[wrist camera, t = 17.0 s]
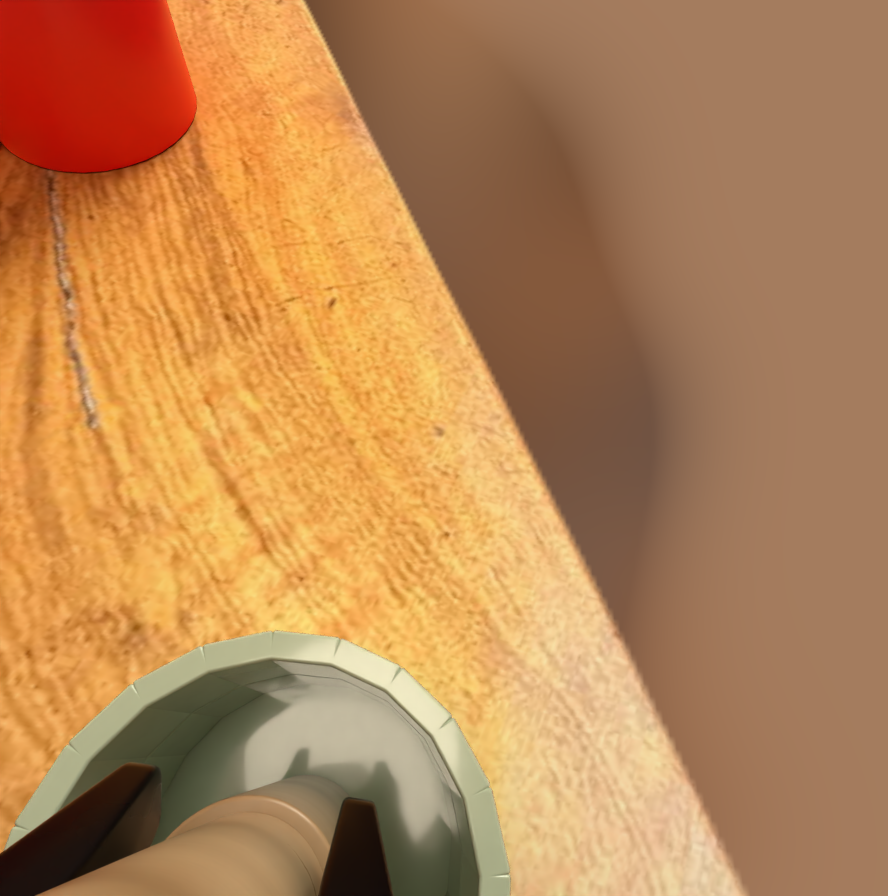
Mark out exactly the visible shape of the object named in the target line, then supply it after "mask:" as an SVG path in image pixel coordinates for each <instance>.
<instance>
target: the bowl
mask: <svg viewBox="0 0 888 896" xmlns="http://www.w3.org/2000/svg"><path fill="white" fill-rule="evenodd" d="M129 762H138V763H144V764H151V765H156V766H158V767H159V768H160V770H161V775H162V790H161V818H160V822H159V826H158V829H157V832H156V835H155V837H154V839H153V842H152V844H151V846H153V845H156V844H158V843H160V842H163V841H165V839H166V838H167V837H168V836H169V835H170V834H171V833H172V832H173V831H174V830H175V829H176V828H177V827H178V826H179V825H180V824H181V823H182V822H183V821H185V820H186V819H188V818H189V817H190V816H192V815H193V814H194V813H196V812H197V811H199V810H201V809H203V808H205V807H206V806H208V805H210V804H213V803H215V802H218V801H220V800H222V799H225V798H229V797H232V796H235V795H238V794H241V793H244V792H247V791H250V790H253V789H256V788H259V787H262V786H265V785H268V784H271V783H274V782H277V781H280V780H283V779H286V778H290V777H293V776H298V775H316V776H321V777H324V778H327V779H329V780H331V781H333V782H335V783H336V784H337V785H339V786H340V787H342V788H343V789H344V790H345V791H346V792H347V794H348V795H349V796H350V797H354V798H360V799H366V800H371V801H373V802H374V804H375V806H376V809H377V814H378V819H379V824H380V829H381V834H382V839H383V844H384V849H385V854H386V859H387V865H388V870H389V875H390V880H391V885H392V890H393V895H394V896H510V895H511V877H510V874H509V873H510V866H509V862H508V857H507V853H506V849H505V844H504V840H503V835H502V831H501V826H500V822H499V817H498V813H497V809H496V804H495V800H494V795H493V791H492V789H491V788H490V787H489V786H490V783H489V781H488V779H487V777H486V775H485V773H484V771H483V770H482V768H481V766H480V764H479V762H478V760H477V759H476V757H475V755H474V753H473V751H472V749H471V747H470V746H469V744H468V742H467V740H466V738H465V736H464V735H463V733H462V731H461V729H460V727H459V725H458V724H457V722H456V720H455V719H454V718H452V715H451V713H450V712H449V711H448V710H447V709H446V708H445V707H444V706H443V705H441V704H440V703H439V702H438V701H437V700H436V699H435V698H434V697H433V696H432V695H431V694H430V693H429V692H428V691H427V690H426V689H425V688H424V687H423V686H422V685H421V684H420V683H419V682H418V681H417V680H416V679H415V678H414V677H413V676H412V675H410V674H409V673H408V672H407V671H406V670H405V669H404V668H400V666H399V665H398V664H396V663H394V662H392V661H390V660H388V659H385V658H383V657H381V656H379V655H377V654H375V653H373V652H371V651H369V650H366V649H364V648H362V647H360V646H358V645H356V644H354V643H352V642H349V641H347V640H345V639H340V638H338V637H333V636H324V635H315V634H306V633H296V632H287V631H278V630H276V631H274V632H272V631H266V632H261V633H256V634H251V635H247V636H242V637H237V638H232V639H228V640H223V641H218V642H213V643H209V644H205V645H204V646H203V647H202V646H199V647H197V648H195V649H193V650H192V651H190V652H188V653H186V654H184V655H182V656H180V657H179V658H177V659H175V660H173V661H171V662H169V663H167V664H165V665H164V666H162V667H160V668H158V669H156V670H154V671H152V672H151V673H149V674H147V675H145V676H143V677H141V678H139V679H137V680H136V681H135V682H134V683H133V684H131V685H129V686H128V687H127V688H126V689H125V690H124V691H123V692H121V693H120V694H119V695H118V696H117V697H116V698H115V699H114V700H113V701H112V702H111V703H110V704H109V705H107V706H106V707H105V708H104V709H103V710H102V711H101V712H100V713H99V714H98V715H97V716H96V717H95V718H93V719H92V720H91V721H90V722H89V723H88V724H87V725H86V726H85V727H84V728H83V729H82V730H81V731H79V732H78V733H77V734H76V735H75V736H74V737H73V738H72V739H71V740H70V741H69V744H67V745H66V746H65V747H64V749H63V750H62V752H61V753H60V755H59V756H58V758H57V759H56V761H55V762H54V764H53V765H52V767H51V768H50V770H49V771H48V773H47V774H46V776H45V777H44V779H43V780H42V782H41V783H40V785H39V786H38V788H37V790H36V791H35V793H34V794H33V796H32V797H31V799H30V800H29V802H28V803H27V805H26V806H25V808H24V809H23V811H22V812H21V814H20V815H19V817H18V818H17V820H16V822H15V825H16V826H14V827H13V828H12V829H11V832H10V834H9V837H8V840H7V843H6V845H5V848H4V850H6V849H7V848H8V847H10V846H11V845H13V844H14V843H15V842H17V841H18V840H20V839H21V838H22V837H24V836H25V835H26V834H28V833H29V832H31V831H32V830H33V829H35V828H36V827H37V826H39V825H40V824H42V823H43V822H44V821H46V820H47V819H49V818H50V817H51V816H53V815H54V814H55V813H57V812H58V811H60V810H61V809H62V808H64V807H65V806H67V805H68V804H69V803H71V802H72V801H73V800H75V799H76V798H78V797H79V796H80V795H82V794H83V793H84V792H86V791H87V790H89V789H90V788H91V787H93V786H94V785H96V784H97V783H98V782H100V781H101V780H102V779H104V778H105V777H107V776H108V775H109V774H111V773H112V772H113V771H115V770H116V769H118V768H119V767H120V766H122V765H124V764H126V763H129ZM151 846H150V847H151Z"/></svg>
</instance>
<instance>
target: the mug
mask: <svg viewBox="0 0 888 896" xmlns="http://www.w3.org/2000/svg"><path fill="white" fill-rule="evenodd" d="M196 109H197V105H196V95H195V92H194V88H193V85H192V82H191V79H190V75H189V72H188V69H187V66H186V62H185V59H184V56H183V53H182V49H181V46H180V43H179V40H178V36H177V33H176V30H175V27H174V23H173V20H172V17H171V14H170V10H169V7H168V4H167V1H166V0H0V141H1V143H2V144H3V145H4V146H5V147H6V148H7V149H8V150H9V151H10V152H11V153H13V154H14V155H16V156H18V157H19V158H21V159H23V160H24V161H26V162H29V163H31V164H34V165H37V166H40V167H42V168H47V169H52V170H57V171H62V172H81V173H85V172H99V171H108V170H113V169H118V168H123V167H127V166H130V165H133V164H136V163H139V162H142V161H145V160H147V159H149V158H151V157H153V156H155V155H157V154H159V153H161V152H163V151H164V150H166V149H167V148H168V147H170V146H171V145H173V144H174V143H176V142H177V141H178V140H179V138H180V137H181V136H182V135H183V134H184V133H185V132H186V131H187V130H188V128H189V126H190V125H191V123H192V121H193V120H194V116H195V112H196Z"/></svg>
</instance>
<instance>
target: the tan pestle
mask: <svg viewBox="0 0 888 896" xmlns="http://www.w3.org/2000/svg"><path fill="white" fill-rule="evenodd" d="M346 797H350V796H349V795H348V794H347V792H346V791H345V790H344V789H343V788H342V787H340V786H339V785H337V784H336V783H335V782H333V781H331V780H329V779H327V778H324V777H321V776H316V775H298V776H293V777H290V778H286V779H283V780H280V781H277V782H274V783H271V784H268V785H265V786H262V787H259V788H256V789H253V790H250V791H247V792H244V793H241V794H238V795H235V796H232V797H229V798H225V799H222V800H220V801H218V802H215V803H213V804H210V805H208V806H206V807H205V808H203V809H201V810H199V811H197V812H196V813H194V814H193V815H192V816H190V817H189V818H188V819H186V820H185V821H183V822H182V823H181V824H180V825H179V826H178V827H177V828H176V829H175V830H174V831H173V832H172V833H171V834H170V835H169V836H168V837H167V838H166V839H165V841H163V842H160V843H158V844H156V845H153V846H151V847H149V848H146V849H144V850H142V851H139V852H137V853H135V854H132V855H130V856H127V857H125V858H123V859H120V860H118V861H116V862H113V863H111V864H109V865H106V866H104V867H102V868H99V869H97V870H95V871H92V872H90V873H87V874H85V875H83V876H80V877H78V878H76V879H73V880H71V881H69V882H66V883H64V884H62V885H59V886H57V887H55V888H52V889H50V890H47V891H45V892H43V893H40V894H38V895H36V896H318V893H319V889H320V884H321V880H322V876H323V873H324V869H325V865H326V861H327V857H328V854H329V850H330V846H331V842H332V838H333V835H334V831H335V827H336V823H337V819H338V816H339V812H340V808H341V804H342V802H343V800H344V799H345V798H346Z"/></svg>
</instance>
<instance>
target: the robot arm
mask: <svg viewBox="0 0 888 896" xmlns="http://www.w3.org/2000/svg"><path fill="white" fill-rule="evenodd" d="M161 790H162V775H161V770H160V768H159V767H158V766H156V765H151V764H144V763H138V762H129V763H126V764H124V765H122V766H120V767H119V768H118V769H116V770H115V771H113V772H112V773H111V774H109V775H108V776H107V777H105V778H104V779H102V780H101V781H100V782H98V783H97V784H96V785H94V786H93V787H91V788H90V789H89V790H87V791H86V792H84V793H83V794H82V795H80V796H79V797H78V798H76V799H75V800H73V801H72V802H71V803H69V804H68V805H67V806H65V807H64V808H62V809H61V810H60V811H58V812H57V813H55V814H54V815H53V816H51V817H50V818H49V819H47V820H46V821H44V822H43V823H42V824H40V825H39V826H37V827H36V828H35V829H33V830H32V831H31V832H29V833H28V834H26V835H25V836H24V837H22V838H21V839H20V840H18V841H17V842H15V843H14V844H13V845H11V846H10V847H8V848H7V849H6V850H4V851H3V852H2V853H0V896H36V895H38V894H40V893H43V892H45V891H47V890H50V889H52V888H55V887H57V886H59V885H62V884H64V883H66V882H69V881H71V880H73V879H76V878H78V877H80V876H83V875H85V874H87V873H90V872H92V871H95V870H97V869H99V868H102V867H104V866H106V865H109V864H111V863H113V862H116V861H118V860H120V859H123V858H125V857H127V856H130V855H132V854H135V853H137V852H139V851H142V850H144V849H146V848H149V847H150V846H151V844H152V842H153V839H154V837H155V835H156V832H157V829H158V826H159V822H160V818H161ZM318 896H394V895H393V890H392V885H391V880H390V875H389V870H388V865H387V859H386V854H385V849H384V844H383V839H382V834H381V829H380V824H379V819H378V814H377V809H376V806H375V804H374V802H373V801H371V800H366V799H360V798H354V797H346V798H345V799H344V800H343V802H342V804H341V808H340V812H339V816H338V819H337V823H336V827H335V831H334V835H333V838H332V842H331V846H330V850H329V854H328V857H327V861H326V865H325V869H324V873H323V876H322V880H321V884H320V889H319V893H318Z"/></svg>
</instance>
